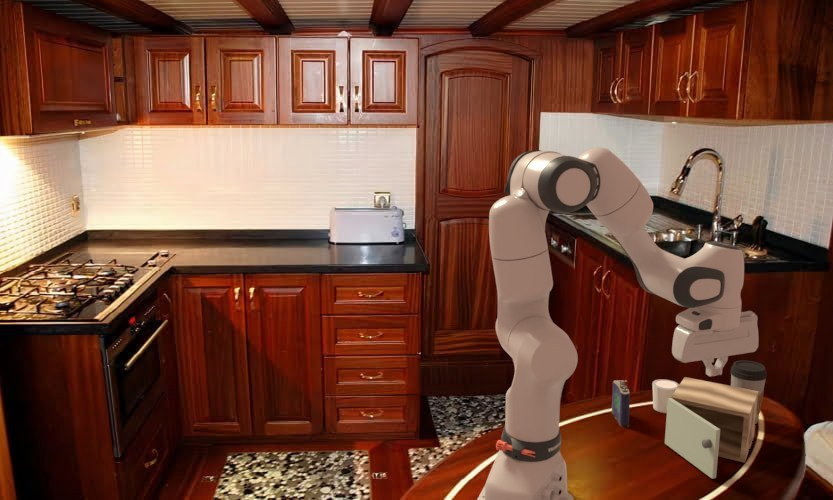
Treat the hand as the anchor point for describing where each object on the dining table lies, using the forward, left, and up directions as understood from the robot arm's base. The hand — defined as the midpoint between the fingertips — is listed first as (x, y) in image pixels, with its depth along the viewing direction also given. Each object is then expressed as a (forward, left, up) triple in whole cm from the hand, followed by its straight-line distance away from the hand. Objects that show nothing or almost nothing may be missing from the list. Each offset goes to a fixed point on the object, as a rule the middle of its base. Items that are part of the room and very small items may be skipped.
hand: (713, 374), depth 156 cm
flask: (+11, +23, -21) cm, 33 cm away
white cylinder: (+23, +15, -21) cm, 35 cm away
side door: (-3, +4, -21) cm, 21 cm away
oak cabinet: (+11, +1, -21) cm, 24 cm away
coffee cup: (+26, -4, -21) cm, 34 cm away
